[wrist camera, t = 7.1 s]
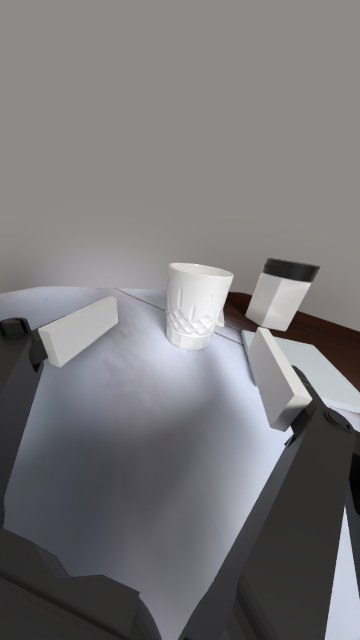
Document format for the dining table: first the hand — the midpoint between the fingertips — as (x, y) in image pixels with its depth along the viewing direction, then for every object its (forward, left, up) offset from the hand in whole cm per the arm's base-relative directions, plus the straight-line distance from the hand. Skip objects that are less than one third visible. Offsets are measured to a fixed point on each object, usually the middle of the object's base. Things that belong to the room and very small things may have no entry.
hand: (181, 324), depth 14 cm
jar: (-15, -20, -6) cm, 26 cm away
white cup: (0, -7, -6) cm, 9 cm away
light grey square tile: (-14, -6, -6) cm, 17 cm away
